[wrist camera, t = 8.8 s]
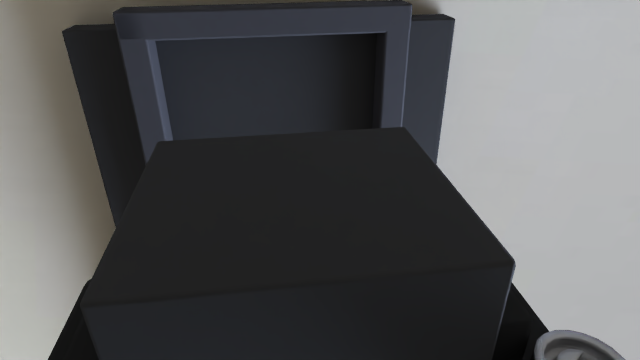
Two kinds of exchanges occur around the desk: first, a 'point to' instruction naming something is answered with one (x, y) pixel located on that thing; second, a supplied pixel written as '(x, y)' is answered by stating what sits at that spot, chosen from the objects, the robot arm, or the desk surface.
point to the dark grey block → (298, 255)
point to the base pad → (254, 76)
